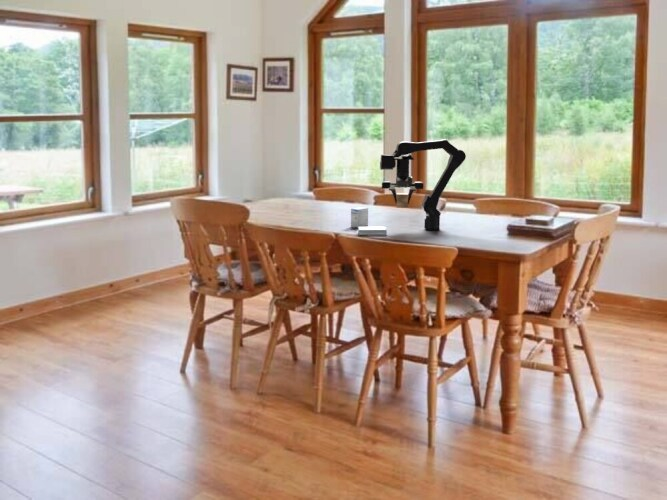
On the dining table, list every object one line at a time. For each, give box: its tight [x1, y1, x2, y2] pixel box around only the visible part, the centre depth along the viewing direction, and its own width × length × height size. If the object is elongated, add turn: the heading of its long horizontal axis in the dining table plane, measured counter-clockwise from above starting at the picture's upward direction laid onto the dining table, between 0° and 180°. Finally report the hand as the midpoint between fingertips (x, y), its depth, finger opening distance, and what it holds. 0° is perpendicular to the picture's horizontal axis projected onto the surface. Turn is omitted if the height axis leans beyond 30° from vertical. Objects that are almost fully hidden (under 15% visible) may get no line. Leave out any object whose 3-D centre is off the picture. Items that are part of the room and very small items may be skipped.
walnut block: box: [396, 192, 409, 209], centre depth 349 cm, size 5×5×6 cm
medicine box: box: [350, 206, 369, 229], centre depth 361 cm, size 8×4×9 cm, turn 141°
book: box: [357, 226, 388, 237], centre depth 340 cm, size 12×9×3 cm
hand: (402, 204), depth 350 cm, fingers closed on walnut block, 5 cm apart
